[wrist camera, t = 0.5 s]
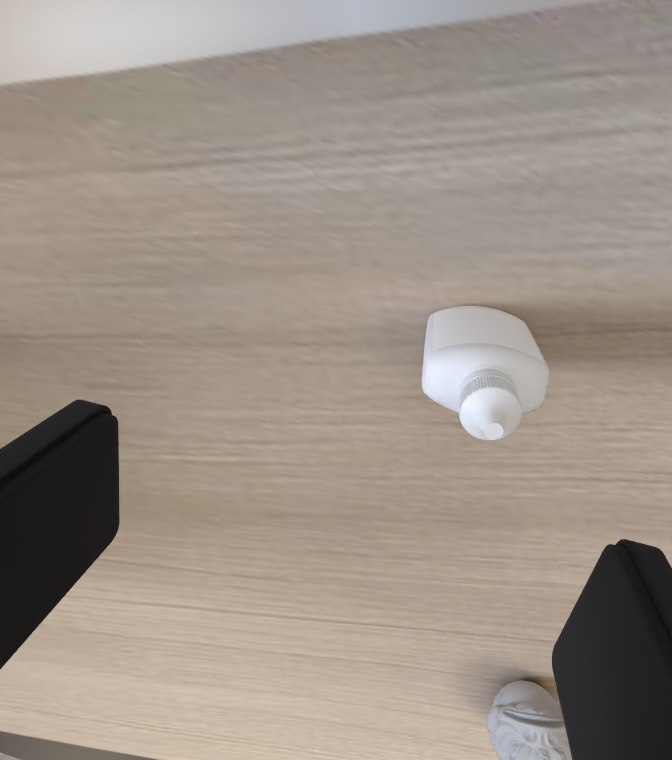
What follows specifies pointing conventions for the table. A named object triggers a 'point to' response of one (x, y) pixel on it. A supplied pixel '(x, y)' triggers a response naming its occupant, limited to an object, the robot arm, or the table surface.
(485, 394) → the eye dropper bottle
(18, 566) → the robot arm
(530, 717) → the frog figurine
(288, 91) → the table surface
